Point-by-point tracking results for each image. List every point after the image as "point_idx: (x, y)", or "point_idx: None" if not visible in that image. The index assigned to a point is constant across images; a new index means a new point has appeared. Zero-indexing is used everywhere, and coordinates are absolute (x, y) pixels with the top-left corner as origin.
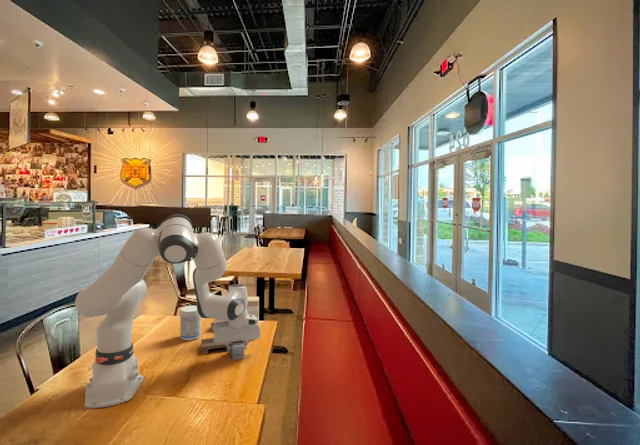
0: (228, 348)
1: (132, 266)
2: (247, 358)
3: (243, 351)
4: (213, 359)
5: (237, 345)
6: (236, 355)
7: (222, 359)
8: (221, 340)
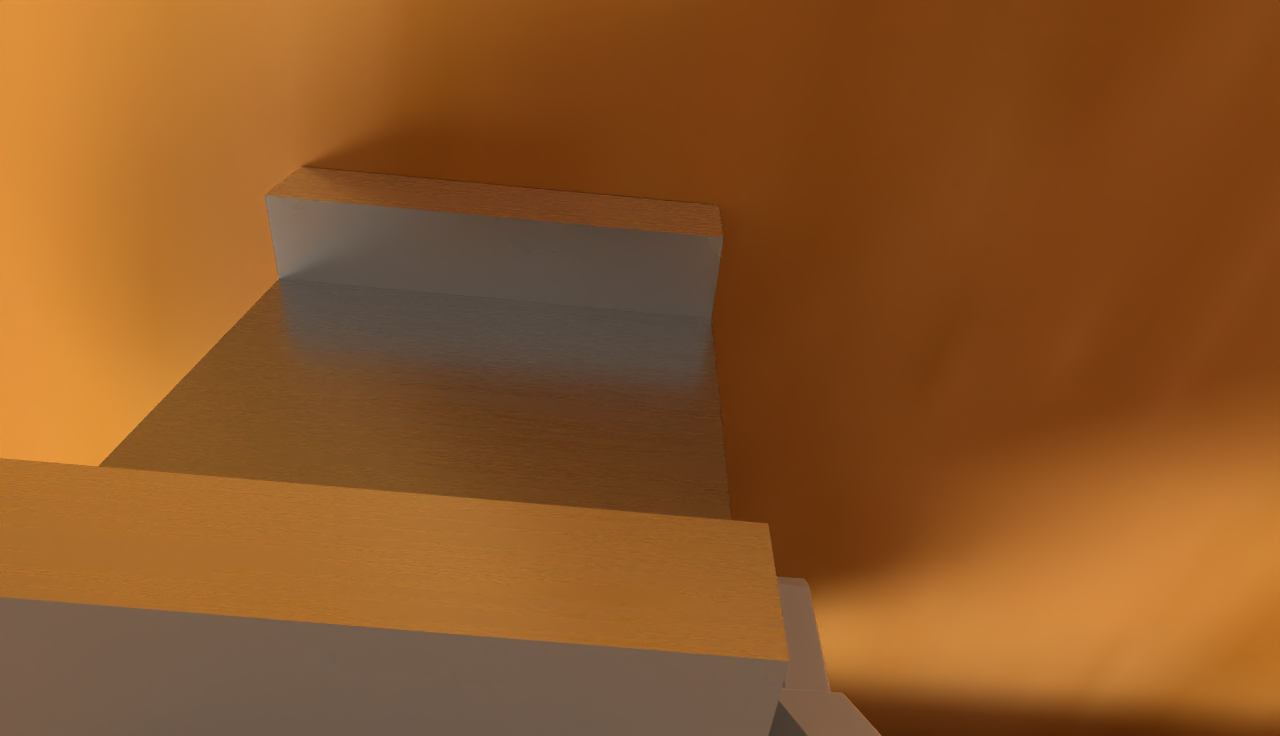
0: (821, 679)
1: None
2: (182, 121)
3: (227, 360)
4: (1224, 461)
5: (404, 595)
6: (556, 318)
7: (999, 370)
8: None
